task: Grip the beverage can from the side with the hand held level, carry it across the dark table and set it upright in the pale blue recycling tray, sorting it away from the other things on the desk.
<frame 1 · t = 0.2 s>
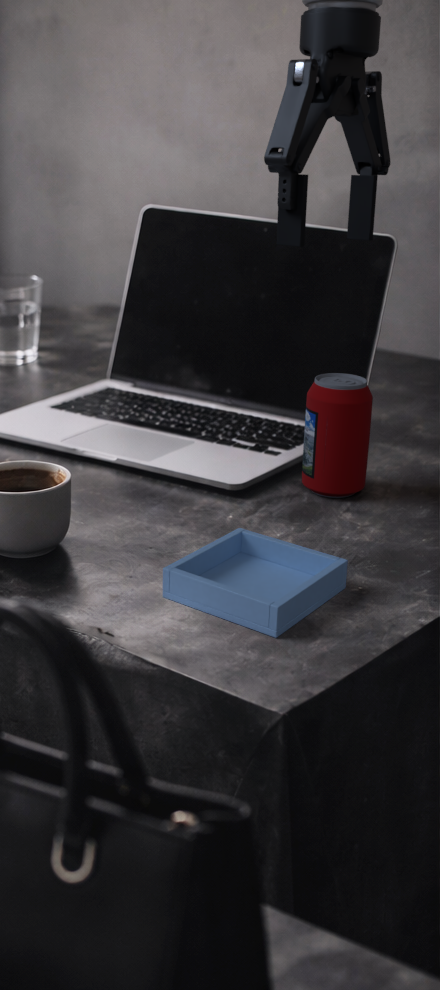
hand: (326, 243, 99), 25 cm above the table, tool pointing down, fingers open, 13 cm apart
beverage can: (332, 491, 104), on the table
recycling tray: (255, 592, 80), on the table
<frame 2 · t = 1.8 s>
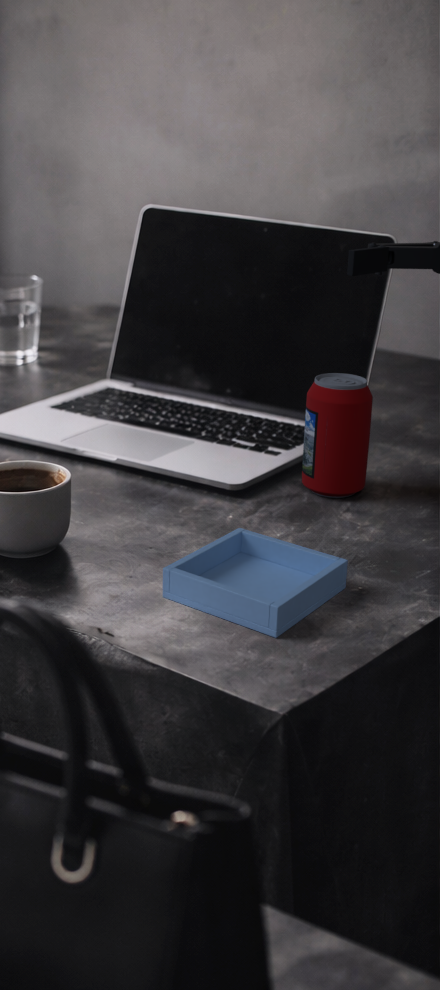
hand: (402, 270, 102), 22 cm above the table, tool horizontal, fingers open, 13 cm apart
nothing on the table moved.
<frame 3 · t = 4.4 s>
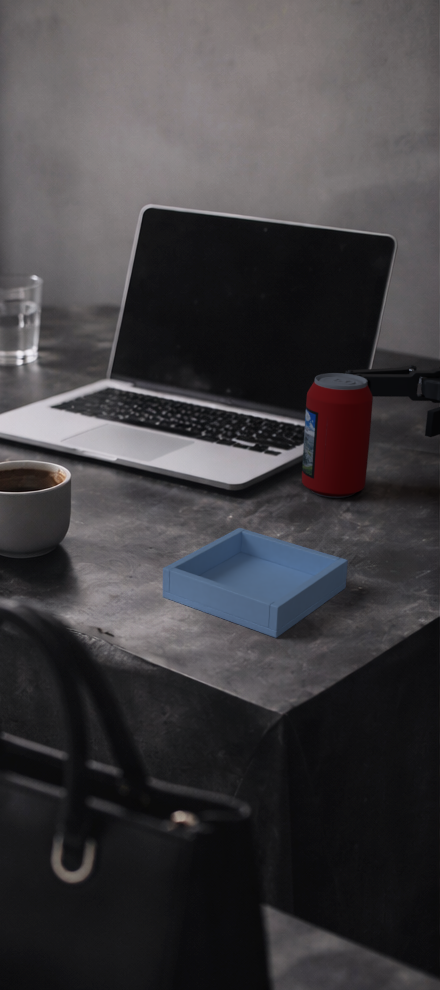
hand: (375, 410, 106), 8 cm above the table, tool horizontal, fingers open, 13 cm apart
nothing on the table moved.
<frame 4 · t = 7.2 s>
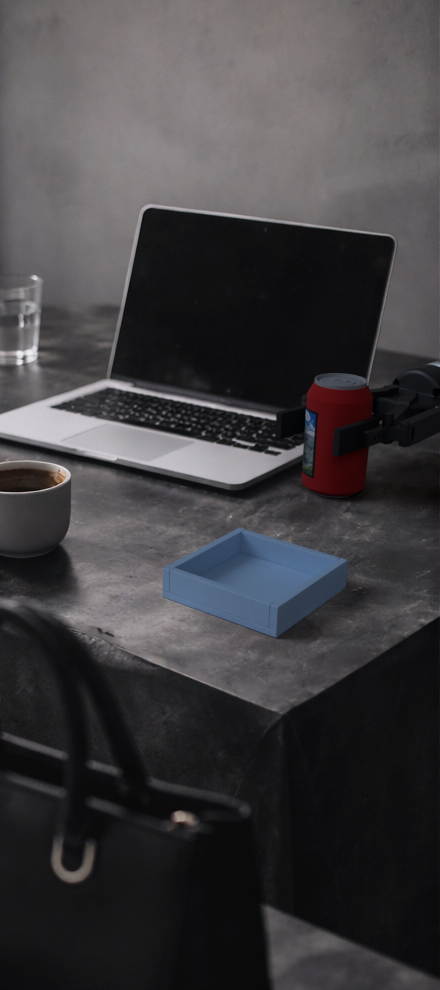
hand: (306, 434, 98), 7 cm above the table, tool horizontal, fingers closed on beverage can, 7 cm apart
beverage can: (332, 491, 104), on the table, touching gripper
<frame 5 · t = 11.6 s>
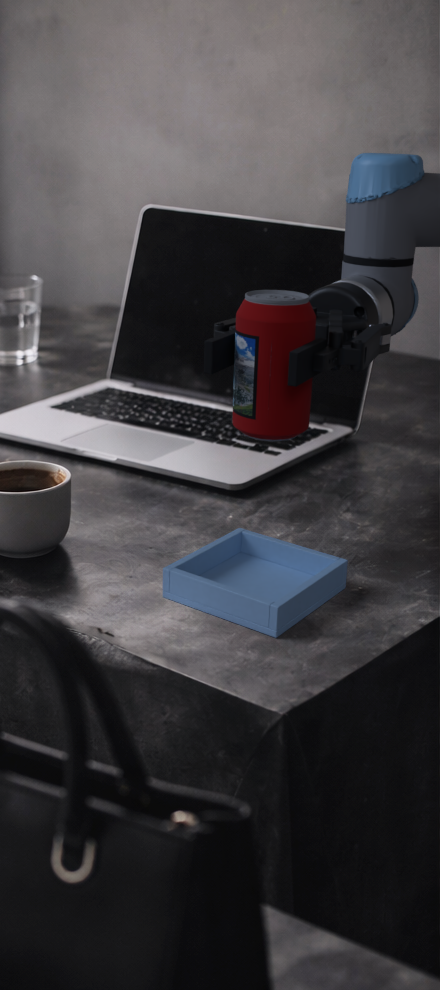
hand: (250, 363, 79), 18 cm above the table, tool horizontal, fingers closed on beverage can, 7 cm apart
beverage can: (270, 435, 86), point 11 cm above the table, touching gripper
when the fingers open (8 cm above the table, at t = 16.1 s): beverage can stays where it is, resting on recycling tray.
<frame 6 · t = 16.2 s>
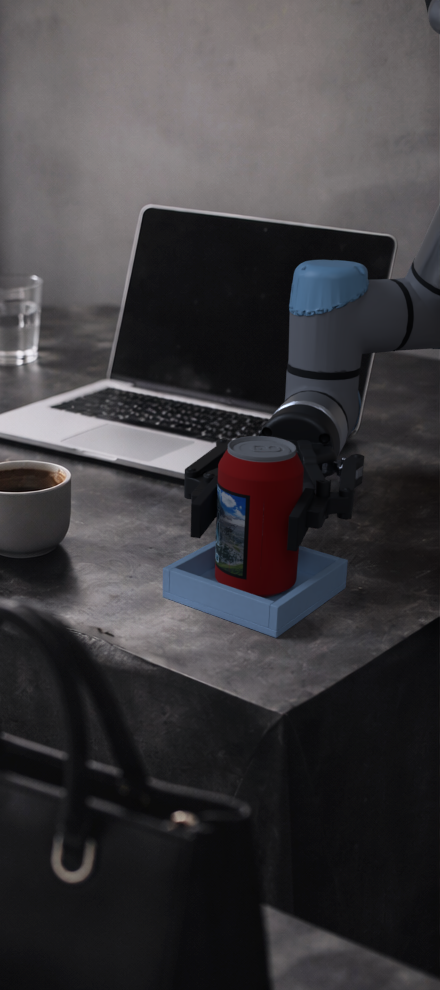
hand: (243, 527, 73), 8 cm above the table, tool horizontal, fingers open, 7 cm apart
beverage can: (255, 587, 80), resting on recycling tray
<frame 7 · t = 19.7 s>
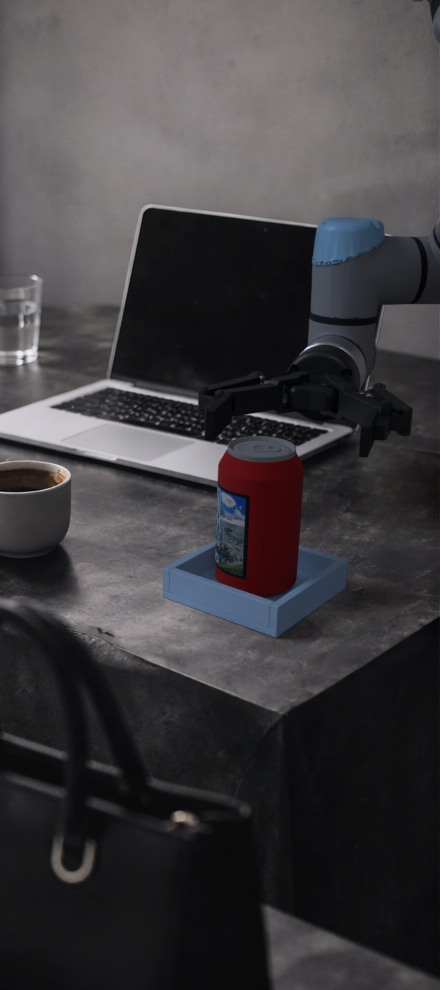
hand: (285, 433, 84), 11 cm above the table, tool horizontal, fingers open, 13 cm apart
nothing on the table moved.
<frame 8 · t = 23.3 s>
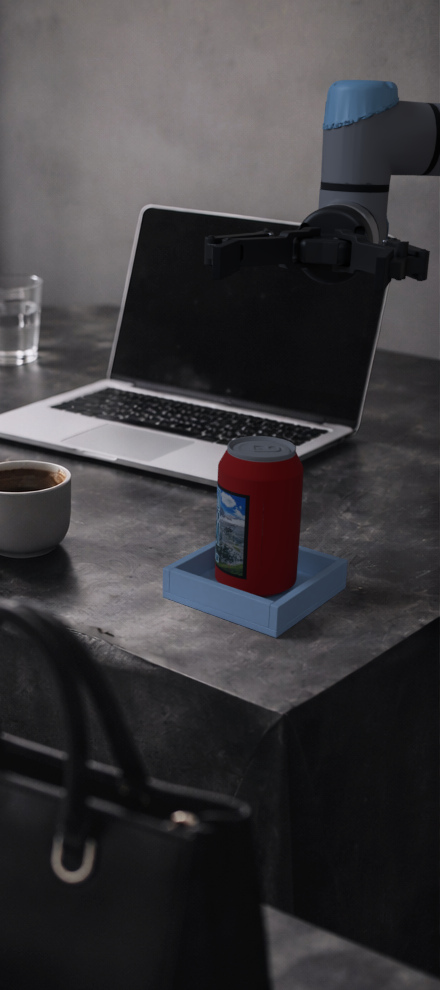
hand: (296, 268, 80), 25 cm above the table, tool horizontal, fingers open, 13 cm apart
nothing on the table moved.
at the end: beverage can inside the target area in the recycling tray (0.1 cm from its centre), point 0.4 cm above the recycling tray's base; beverage can tilted 0°; the gripper is holding nothing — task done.
